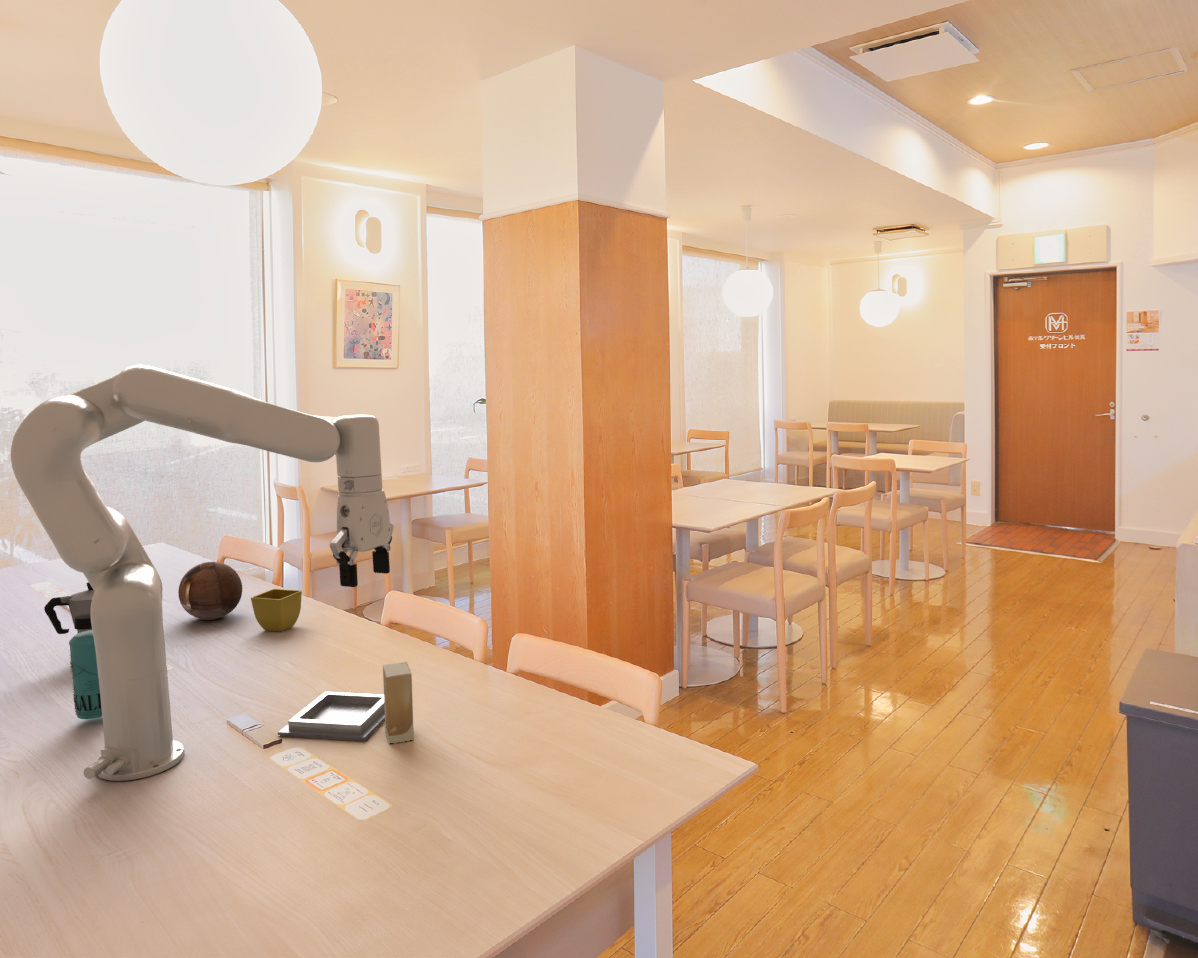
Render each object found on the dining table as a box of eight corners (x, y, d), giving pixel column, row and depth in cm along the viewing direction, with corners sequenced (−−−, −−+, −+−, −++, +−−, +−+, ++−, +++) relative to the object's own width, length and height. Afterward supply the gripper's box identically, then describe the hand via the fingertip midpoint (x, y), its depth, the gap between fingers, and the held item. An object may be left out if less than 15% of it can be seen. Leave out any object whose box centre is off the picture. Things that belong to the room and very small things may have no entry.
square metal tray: (364, 741, 138) (364, 728, 137) (278, 736, 140) (277, 723, 140) (401, 704, 153) (400, 692, 153) (322, 700, 156) (322, 688, 155)
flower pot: (251, 632, 198) (249, 597, 197) (275, 622, 206) (273, 588, 205) (281, 635, 195) (279, 599, 194) (304, 624, 204) (302, 590, 203)
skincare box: (384, 730, 142) (381, 663, 140) (409, 726, 144) (406, 660, 142) (388, 745, 136) (385, 676, 135) (414, 741, 138) (411, 672, 136)
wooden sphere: (234, 606, 220) (231, 553, 219) (251, 619, 209) (247, 562, 207) (174, 617, 211) (170, 561, 209) (188, 631, 200) (184, 572, 198)
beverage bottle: (109, 709, 152) (99, 607, 150) (123, 719, 148) (113, 613, 145) (70, 721, 147) (59, 615, 145) (83, 731, 143) (73, 622, 140)
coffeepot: (127, 648, 187) (121, 573, 185) (135, 659, 180) (128, 580, 178) (48, 663, 177) (40, 584, 175) (52, 675, 170) (44, 593, 168)
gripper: (347, 492, 133) (354, 593, 135) (405, 479, 149) (410, 569, 151) (310, 491, 135) (317, 590, 137) (371, 478, 151) (376, 566, 154)
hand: (365, 579), depth 144 cm, fingers open, 9 cm apart
